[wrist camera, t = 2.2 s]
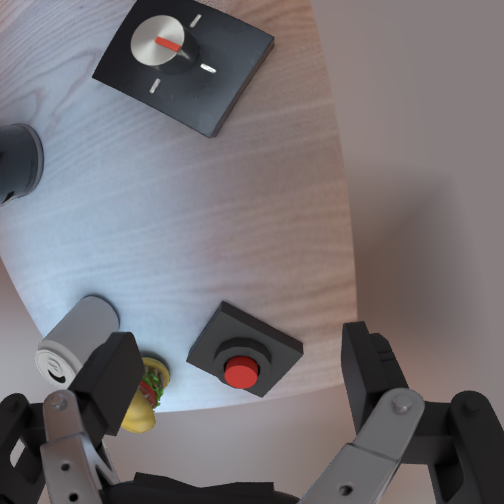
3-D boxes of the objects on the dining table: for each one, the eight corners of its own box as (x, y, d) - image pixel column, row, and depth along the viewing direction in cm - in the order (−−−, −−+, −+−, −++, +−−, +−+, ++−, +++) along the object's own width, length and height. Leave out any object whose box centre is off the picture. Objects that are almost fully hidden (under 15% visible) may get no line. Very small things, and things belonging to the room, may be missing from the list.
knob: (143, 64, 25) (119, 53, 20) (168, 25, 23) (148, 7, 18) (182, 82, 25) (163, 73, 20) (208, 42, 24) (194, 25, 19)
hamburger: (169, 392, 43) (146, 456, 32) (123, 376, 42) (92, 436, 31) (176, 355, 40) (150, 424, 29) (126, 338, 40) (88, 400, 29)
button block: (189, 350, 40) (182, 371, 36) (223, 300, 36) (217, 319, 33) (262, 386, 41) (261, 407, 37) (302, 343, 38) (305, 364, 34)
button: (220, 370, 36) (218, 380, 34) (236, 350, 34) (234, 360, 33) (247, 382, 36) (246, 393, 35) (264, 364, 35) (263, 374, 33)
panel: (105, 80, 28) (90, 77, 25) (157, -6, 24) (147, -16, 21) (215, 137, 30) (208, 138, 27) (274, 45, 26) (274, 36, 23)
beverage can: (82, 327, 40) (38, 382, 29) (78, 288, 37) (26, 339, 26) (122, 339, 40) (84, 401, 29) (120, 299, 37) (74, 359, 26)
